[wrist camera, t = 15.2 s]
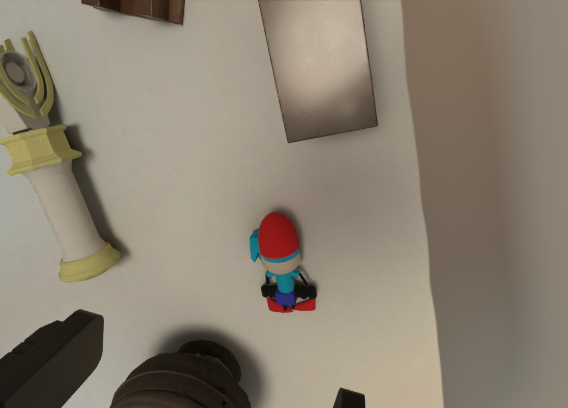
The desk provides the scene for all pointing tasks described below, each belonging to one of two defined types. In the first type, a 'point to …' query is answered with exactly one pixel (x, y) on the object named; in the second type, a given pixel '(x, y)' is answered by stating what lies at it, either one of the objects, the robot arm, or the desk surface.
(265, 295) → the toy figure
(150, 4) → the holder
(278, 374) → the desk surface
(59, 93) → the desk surface
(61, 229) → the trophy
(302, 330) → the desk surface
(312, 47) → the block
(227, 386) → the pot
